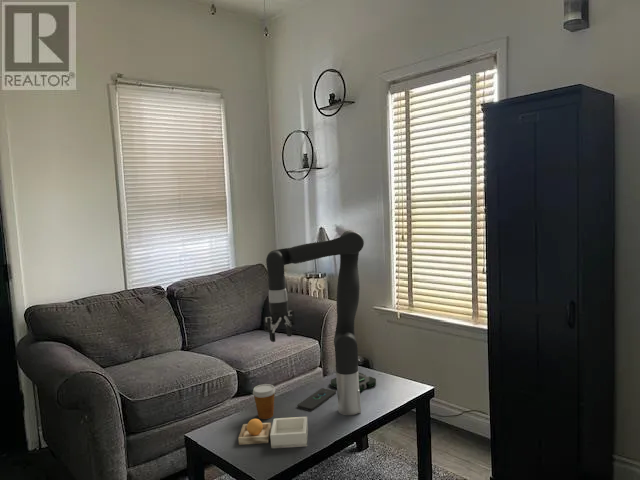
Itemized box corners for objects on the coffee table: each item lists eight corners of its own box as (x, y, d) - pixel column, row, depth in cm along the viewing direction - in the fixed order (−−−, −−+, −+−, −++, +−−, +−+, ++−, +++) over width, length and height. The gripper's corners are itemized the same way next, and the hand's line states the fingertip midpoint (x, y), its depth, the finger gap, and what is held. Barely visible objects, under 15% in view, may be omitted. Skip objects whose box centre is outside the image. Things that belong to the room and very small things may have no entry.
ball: (264, 429, 188) (262, 415, 187) (262, 437, 182) (260, 422, 181) (249, 431, 188) (247, 416, 187) (246, 439, 182) (245, 424, 181)
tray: (271, 428, 190) (270, 422, 190) (268, 442, 179) (267, 436, 179) (243, 430, 191) (243, 424, 190) (238, 444, 180) (238, 438, 179)
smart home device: (336, 390, 220) (312, 408, 203) (337, 394, 220) (312, 412, 203) (321, 387, 224) (296, 404, 208) (321, 391, 224) (296, 408, 208)
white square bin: (307, 428, 188) (307, 416, 188) (306, 446, 175) (306, 433, 175) (274, 430, 188) (273, 418, 188) (271, 448, 175) (270, 435, 175)
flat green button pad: (354, 375, 241) (353, 366, 240) (380, 385, 227) (380, 375, 226) (326, 386, 230) (326, 376, 229) (352, 397, 216) (352, 387, 215)
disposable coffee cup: (273, 421, 196) (271, 393, 195) (251, 420, 198) (249, 392, 197) (280, 410, 206) (278, 383, 204) (258, 410, 208) (256, 383, 206)
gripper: (285, 295, 203) (288, 333, 204) (258, 302, 193) (261, 341, 194) (297, 297, 197) (300, 336, 199) (270, 304, 187) (273, 345, 189)
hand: (281, 338), depth 197 cm, fingers open, 8 cm apart
